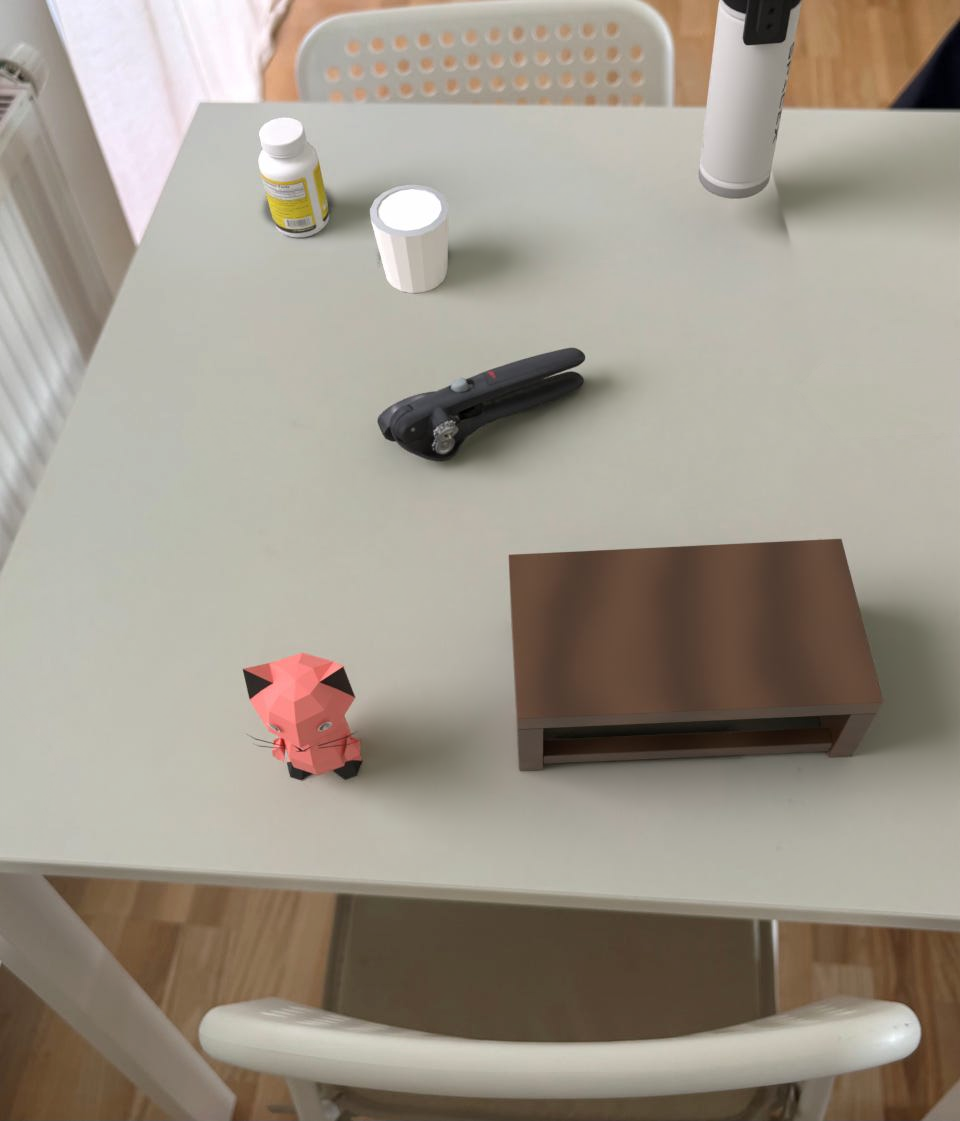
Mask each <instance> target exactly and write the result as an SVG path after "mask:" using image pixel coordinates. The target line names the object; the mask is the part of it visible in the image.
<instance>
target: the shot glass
mask: <svg viewBox="0 0 960 1121" xmlns="http://www.w3.org/2000/svg"><path fill="white" fill-rule="evenodd" d="M369 215H370V217H369V218H370V222H371V225H372V229H373V233H374V238H375V242H376V245H377V248H378V251H379V255H380V258H381V263H382V266H383V270H384V274H385V277H386V280H387V282H388V283H389V284H390V285H391V287H393V288H394V289H396V290H398V291H400V292H402V293H409V294H419V293H427V292H429V291H431V290H433V289H435V288H437V287H438V286H440V284H442V283H443V282H444V281H445V280H446V276H447V273H448V262H449V261H448V258H449V257H448V255H449V254H448V253H449V218H450V210H449V203H448V200H447V199H446V197H445V196H444V195H443V194H442V193H441V192H440V191H438V190H437V189H434V188H432V187H430V186H426V185H419V184H405V185H397V186H395V187H392V188H390V189H388V190H385V191H383V192H382V193H381V194H379V195H378V196H377V197H376V198H375V199H374V200H373V202H372V204H371V206H370V208H369Z"/></svg>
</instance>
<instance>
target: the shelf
mask: <svg viewBox="0 0 960 1121" xmlns="http://www.w3.org/2000/svg"><path fill="white" fill-rule="evenodd" d="M508 574H509V575H508V576H509V578H508V580H509V598H510V599H509V601H510V602H509V603H510V621H511V622H510V623H511V624H510V625H511V642H512V660H513V661H512V662H513V680H514V682H513V684H514V701H515V719H516V720H515V721H516V739H517V740H516V743H517V760H518V771H519V772H523V771H524V772H526V771H527V772H528V771H543V770H544V764H561V763H562V764H563V763H564V764H565V763H585V762H586V763H588V762H607V761H608V762H609V761H610V762H611V761H632V760H653V759H656V760H657V759H676V758H677V759H678V758H697V757H701V758H702V757H720V756H725V757H726V756H743V755H747V756H748V755H769V754H789V753H790V754H791V753H792V754H793V753H814V752H826V754H827V757H828V758H845V757H846V758H847V757H853V755H854V754H855V752H856V751H857V749H858V747H859V745H860V744H861V742H862V740H863V739H864V737H865V735H866V733H867V732H868V730H869V728H870V726H871V724H872V723H873V721H874V720H875V718H876V716H877V715H878V712H879V711H880V709H881V707H882V706H883V704H884V698H883V694H882V689H881V687H880V683H879V679H878V675H877V671H876V667H875V662H874V659H873V654H872V651H871V648H870V644H869V640H868V636H867V631H866V629H865V628H866V627H865V625H864V621H863V617H862V613H861V610H860V605H859V601H858V597H857V594H856V589H855V585H854V582H853V578H852V574H851V570H850V566H849V562H848V559H847V555H846V551H845V547H844V543H843V539H842V538H825V539H806V540H784V541H782V540H781V541H763V542H743V543H741V542H740V543H725V544H720V543H719V544H702V545H701V544H699V545H682V546H681V545H680V546H661V547H658V546H657V547H642V548H641V547H638V548H620V549H599V550H579V551H557V552H556V551H555V552H537V553H535V552H534V553H515V554H508ZM798 717H819V721H820V727H800V728H798V727H797V728H780V729H756V730H755V729H754V730H734V731H732V730H731V731H712V732H711V731H710V732H690V733H689V732H687V733H666V734H664V733H663V734H644V735H642V734H641V735H622V736H621V735H620V736H619V735H618V736H601V737H599V736H598V737H597V736H596V737H579V738H556V739H544V729H553V728H554V729H555V728H575V727H576V728H577V727H596V726H597V727H599V726H619V725H620V726H622V725H640V724H641V725H643V724H661V723H684V722H685V723H687V722H707V721H729V720H730V721H732V720H753V719H754V720H755V719H774V718H776V719H777V718H798Z"/></svg>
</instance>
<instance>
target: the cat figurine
mask: <svg viewBox="0 0 960 1121" xmlns="http://www.w3.org/2000/svg"><path fill="white" fill-rule="evenodd" d="M242 673H243V678H244V681H245V686H246V691H247V696H248V700H249V701H250V703H251V705H252V706H253V709H254V710H255V711H256V713H257V714H258V716H259V718H260V719H261V721H262V723H263V724H264V726H265V727H266V729H267V731H268V732H269V733H271V734H273V735H275V736H277V737H278V738H275V739H273V741H272V742H271V741H267V740H264V739H259V738H255V737H253V736H252V735H250V734H247V733H245V732H244V734H246V735H247V736H249V737H250V738H251V739H254V740H255V741H259V742H264V743H268V744H272V745H273V746H268V745H267V746H266V745H258V744H256V743H254V745H255V746H257V747H261V748H270V749H271V748H272V750H271V753H272V757H273V758H276V760H279V761H281V762H283V763H285V756H286V753H287V756H288V760H287V761H286V765H287V769H288V773H289V777H290V778H292V779H295V780H299V781H303V780H305V779H306V778H308V777H309V776H310V775H312V774H314V775H316V776H319V775H323V774H326V773H328V772H331V771H332V772H334V773H335V774H336V775H338V776H339V777H340V778H341V779H343V780H348V779H351V778H354V777H357V776H358V774H359V771H360V769H361V766H362V764H363V759H362V756H361V744H362V743H361V742H360V739H358V738H356V737H353V736H352V735H354V734H356V733H357V732H358V730H356V731H354V732H352V731H351V729H350V726H349V723H348V721H347V718H346V714H347V712H348V710H349V709H350V707H351V705H353V703H354V701H355V699H356V697H357V696H356V695H355V693H354V690H353V687H352V684H351V682H350V679H349V677H348V675H347V674H348V673H347V672H346V669H345V666H344V665H342V664H340V663H338V662H336V661H334V660H329V659H326V658H322V657H319V656H315V655H312V654H308V653H304V652H300V653H297V654H294V655H290V656H287V657H285V658H281V659H278V660H275V661H271V662H268V663H263V664H259V665H254V666H250V667H249V666H248V667H245V668H242Z"/></svg>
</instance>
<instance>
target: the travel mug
mask: <svg viewBox="0 0 960 1121" xmlns="http://www.w3.org/2000/svg"><path fill="white" fill-rule="evenodd" d="M747 2H748V0H719V1H718V4H717V14H716V22H715V31H714V40H713V48H712V57H711V63H710V64H711V65H710V73H709V80H708V91H707V99H706V107H705V116H704V123H703V124H704V125H703V133H702V140H701V149H700V157H699V158H700V160H699V166H698V180H699V183H700V184H701V186H702V187H703V188H704V189H705V190H706V191H707V192H709V193H711V194H712V195H715V196H717V197H720V198H723V199H730V200H734V199H735V200H738V199H739V200H740V199H747V198H750V197H753V196H756V195H757V194H759V193H761V192H763V190H764V189H765V188H766V187H767V186H768V184H769V183H770V180H771V174H772V173H771V172H772V167H773V162H774V156H775V151H776V146H777V140H778V134H779V129H780V124H781V120H782V119H781V118H782V114H783V109H784V108H783V107H784V101H785V96H786V90H787V85H788V79H789V73H790V69H791V64H792V57H793V52H794V48H795V42H796V36H797V35H796V34H797V30H798V24H799V21H800V20H799V19H800V14H801V9H802V2H803V0H793V1H792V6H791V12H790V18H789V24H788V29H787V35H786V39H785V41H784V42H782V43H775V44H761V45H745V44H744V42H743V31H744V24H745V17H746V9H747Z"/></svg>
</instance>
